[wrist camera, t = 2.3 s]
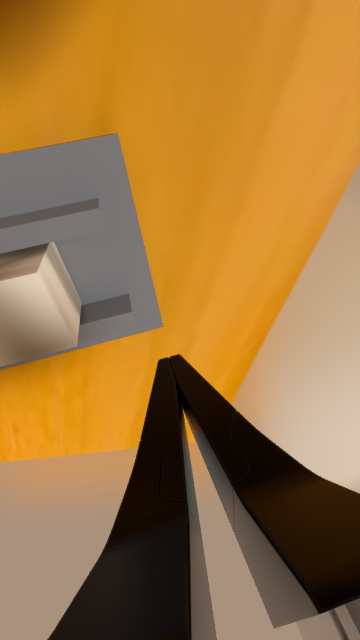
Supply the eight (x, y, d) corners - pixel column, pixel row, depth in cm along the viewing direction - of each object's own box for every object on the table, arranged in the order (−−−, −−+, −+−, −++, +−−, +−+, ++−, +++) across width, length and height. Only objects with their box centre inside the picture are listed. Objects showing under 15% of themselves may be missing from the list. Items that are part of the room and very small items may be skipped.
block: (51, 237, 16) (36, 272, 12) (81, 301, 19) (76, 346, 16) (-32, 255, 16) (-75, 298, 12) (12, 318, 19) (-10, 369, 15)
